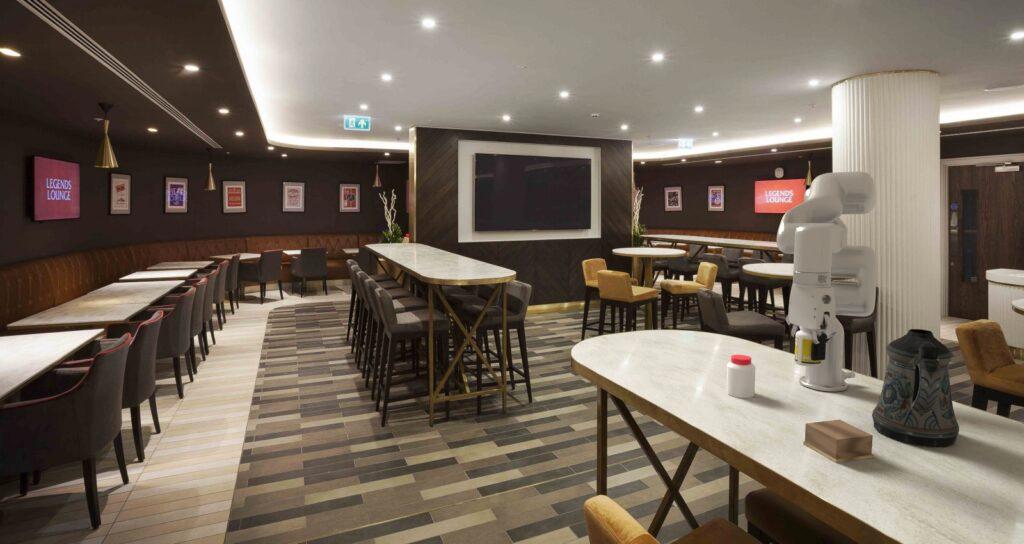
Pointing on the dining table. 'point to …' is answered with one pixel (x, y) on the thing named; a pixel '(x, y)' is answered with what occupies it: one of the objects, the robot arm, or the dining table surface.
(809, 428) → the walnut riser
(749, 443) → the dining table surface
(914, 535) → the dining table surface
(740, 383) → the pill bottle
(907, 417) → the patterned ceramic jug
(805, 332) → the supplement bottle
